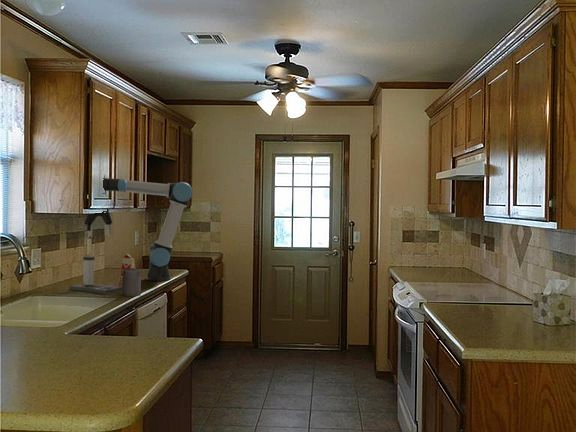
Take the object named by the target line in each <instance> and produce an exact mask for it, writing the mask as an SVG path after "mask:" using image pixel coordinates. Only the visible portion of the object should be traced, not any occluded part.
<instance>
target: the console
mask: <svg viewBox="0 0 576 432" xmlns="http://www.w3.org/2000/svg"><path fill="white" fill-rule="evenodd" d="M71 289H72V291H78V292H87V293H92V292H93V293H94V294H102V295H108V294H113V293H114V294H115V293H117V292H118V293H119V292H122V287H118V285H110V284H108V285H107V284H101V283H96V282H94V284H92V285H84V284H83V283H79V284H74V285H73V284H72V285H69V290H71ZM93 293H92V294H93Z"/></svg>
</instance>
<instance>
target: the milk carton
mask: <svg viewBox="0 0 576 432" xmlns="http://www.w3.org/2000/svg"><path fill="white" fill-rule="evenodd" d="M135 264H136V263H135V258H133V257H132V256H131V254H129V253H128V252H126V255H124V256H123V257H122V262H121V266H120V270H119V271H120V272H119V278H118V283H117V286H118V287H122V284H123V270H124V269H136V265H135Z"/></svg>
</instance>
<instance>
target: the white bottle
mask: <svg viewBox="0 0 576 432" xmlns="http://www.w3.org/2000/svg"><path fill="white" fill-rule="evenodd" d="M95 258H96V257H95V256H83V259H82V260H83V272H82V273H83V275H82V276H83V277H82V281H83V282H82V284H84V285H92V284H94V283H95V281H94V280H95Z"/></svg>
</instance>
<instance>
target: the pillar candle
mask: <svg viewBox="0 0 576 432" xmlns="http://www.w3.org/2000/svg"><path fill="white" fill-rule="evenodd" d="M141 283H142V269H139V268H135V269H124V270H123V284H122V291H121V295H122V296H123V297H138V296H140V295H141V289H142V288H141V287H142V286H141V285H142V284H141Z"/></svg>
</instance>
